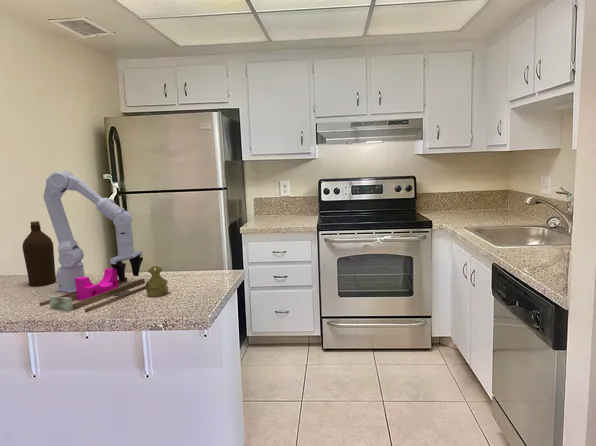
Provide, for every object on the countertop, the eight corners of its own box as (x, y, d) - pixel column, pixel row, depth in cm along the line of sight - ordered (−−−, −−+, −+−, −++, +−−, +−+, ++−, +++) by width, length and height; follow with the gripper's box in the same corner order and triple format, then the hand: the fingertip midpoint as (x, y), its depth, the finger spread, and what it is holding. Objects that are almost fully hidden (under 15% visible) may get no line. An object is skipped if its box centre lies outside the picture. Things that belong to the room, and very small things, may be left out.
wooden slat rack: (37, 306, 151) (36, 294, 150) (114, 280, 180) (113, 270, 180) (84, 312, 142) (83, 300, 141) (157, 284, 171) (156, 274, 171)
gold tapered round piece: (168, 289, 163) (165, 262, 162) (168, 295, 156) (166, 267, 155) (147, 292, 161) (144, 265, 160) (146, 298, 154) (143, 269, 153)
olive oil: (58, 283, 180) (50, 221, 176) (27, 288, 175) (18, 224, 171) (57, 278, 189) (49, 219, 185) (28, 282, 184) (19, 221, 180)
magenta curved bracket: (90, 301, 154) (87, 279, 153) (77, 299, 157) (74, 278, 156) (123, 288, 168) (121, 269, 166) (111, 287, 170) (109, 268, 169)
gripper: (118, 247, 163) (122, 284, 165) (147, 240, 176) (150, 274, 178) (104, 246, 166) (108, 282, 168) (133, 239, 179) (136, 273, 181)
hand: (129, 278), depth 173 cm, fingers open, 6 cm apart
